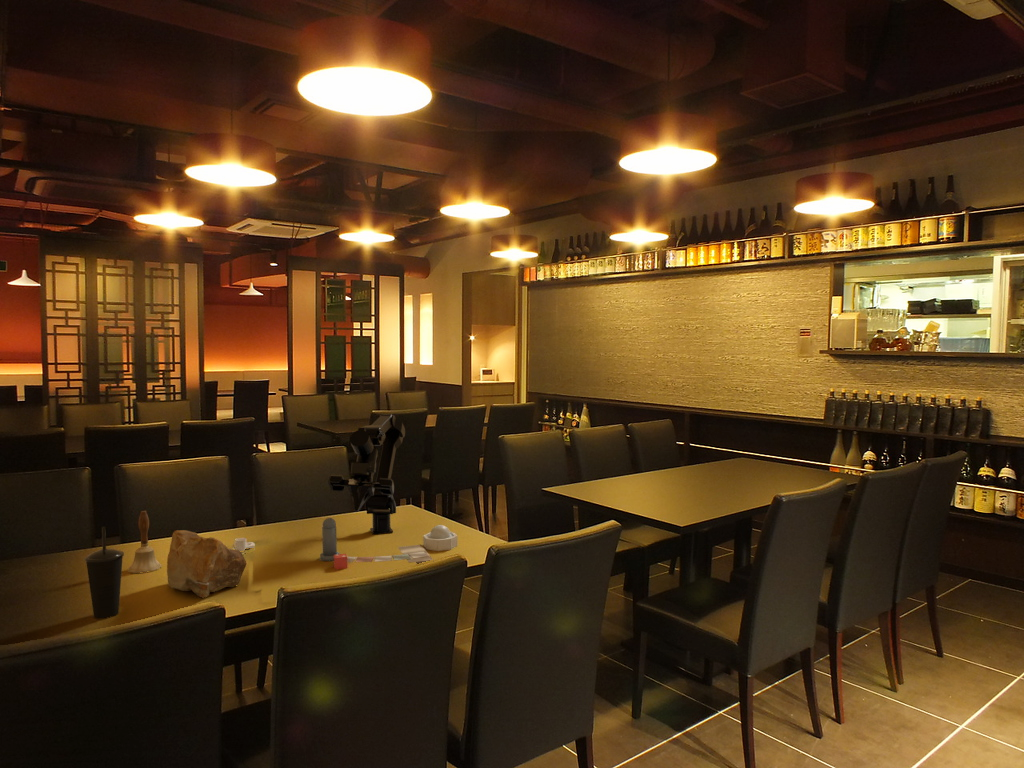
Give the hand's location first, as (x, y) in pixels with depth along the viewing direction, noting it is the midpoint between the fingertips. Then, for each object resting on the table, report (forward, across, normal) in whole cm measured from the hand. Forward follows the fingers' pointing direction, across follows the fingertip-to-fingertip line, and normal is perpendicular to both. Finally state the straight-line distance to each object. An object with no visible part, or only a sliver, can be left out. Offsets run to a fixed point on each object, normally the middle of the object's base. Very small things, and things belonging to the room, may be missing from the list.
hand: (356, 511), depth 201 cm
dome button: (+3, +24, +14) cm, 28 cm away
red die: (+18, 0, -4) cm, 19 cm away
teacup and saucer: (+9, -31, +14) cm, 35 cm away
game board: (+13, +7, +3) cm, 15 cm away
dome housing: (+3, +24, +14) cm, 28 cm away
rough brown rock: (+29, -30, -12) cm, 43 cm away
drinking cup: (+41, -46, -25) cm, 66 cm away
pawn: (+14, -5, +2) cm, 15 cm away
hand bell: (+21, -54, +2) cm, 58 cm away
